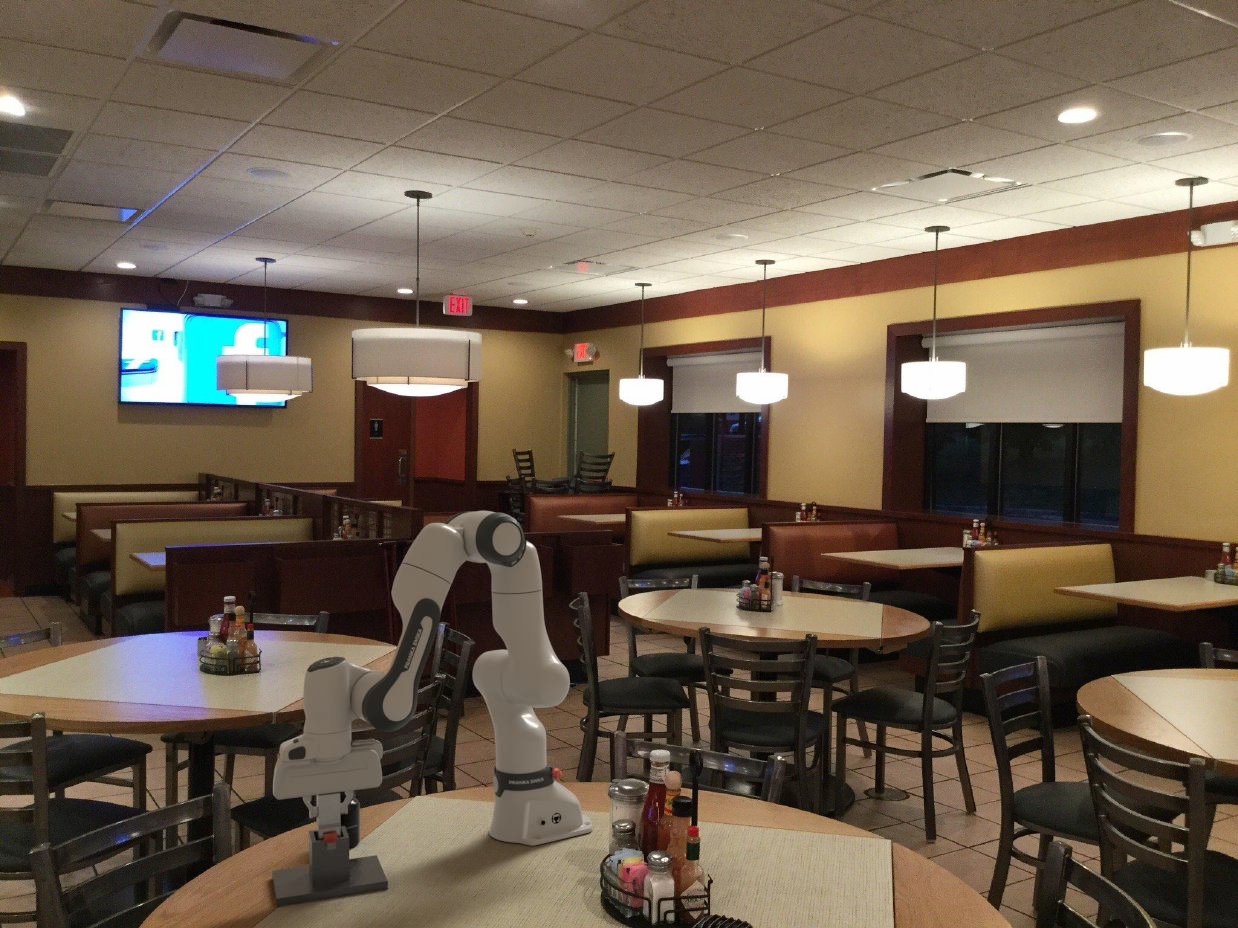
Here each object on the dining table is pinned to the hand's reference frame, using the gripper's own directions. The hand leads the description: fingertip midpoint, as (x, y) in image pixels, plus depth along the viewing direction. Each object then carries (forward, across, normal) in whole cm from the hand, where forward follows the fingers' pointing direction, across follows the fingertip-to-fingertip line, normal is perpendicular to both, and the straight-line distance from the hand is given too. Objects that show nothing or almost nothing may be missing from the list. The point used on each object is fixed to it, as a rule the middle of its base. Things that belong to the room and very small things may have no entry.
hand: (328, 815), depth 196 cm
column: (+11, 0, 0) cm, 11 cm away
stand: (+13, 0, 0) cm, 13 cm away
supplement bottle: (+13, -5, -20) cm, 25 cm away
